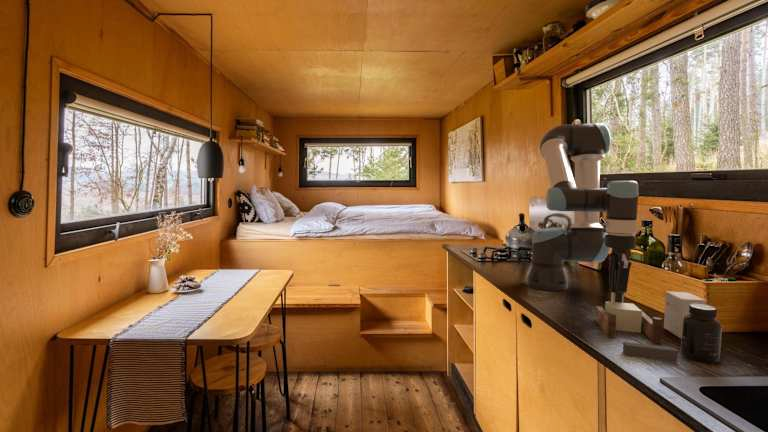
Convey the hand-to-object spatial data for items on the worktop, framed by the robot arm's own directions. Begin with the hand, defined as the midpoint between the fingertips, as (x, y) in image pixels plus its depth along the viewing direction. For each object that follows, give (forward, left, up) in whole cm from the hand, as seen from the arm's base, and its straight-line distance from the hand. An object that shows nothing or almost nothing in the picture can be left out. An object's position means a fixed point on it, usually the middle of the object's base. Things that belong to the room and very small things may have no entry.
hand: (616, 313), depth 108 cm
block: (+5, 0, -2) cm, 6 cm away
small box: (+6, +14, -2) cm, 16 cm away
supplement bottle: (+22, +11, -2) cm, 25 cm away
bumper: (+25, 0, -2) cm, 25 cm away
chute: (+8, 0, -2) cm, 9 cm away
